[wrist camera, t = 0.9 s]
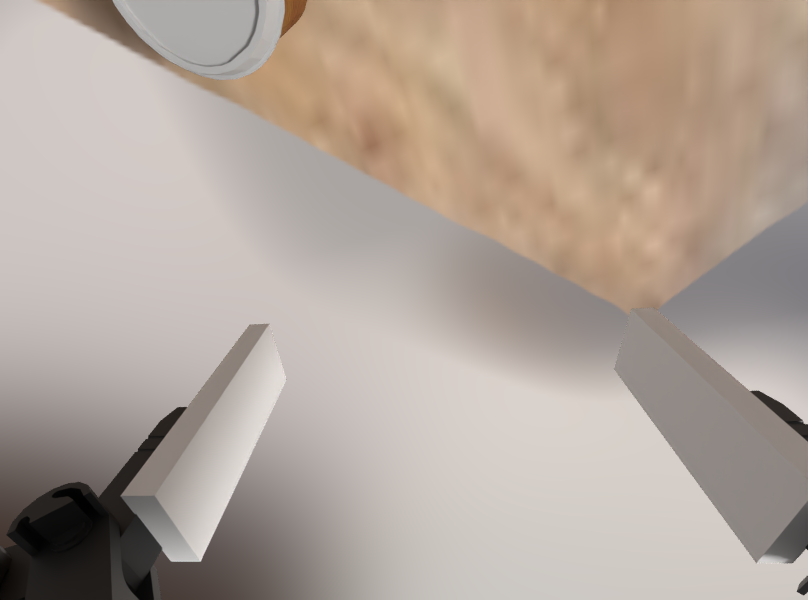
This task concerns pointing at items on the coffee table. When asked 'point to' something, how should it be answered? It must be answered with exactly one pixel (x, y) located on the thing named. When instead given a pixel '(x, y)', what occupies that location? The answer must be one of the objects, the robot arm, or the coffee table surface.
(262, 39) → the disposable coffee cup
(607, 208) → the coffee table surface
